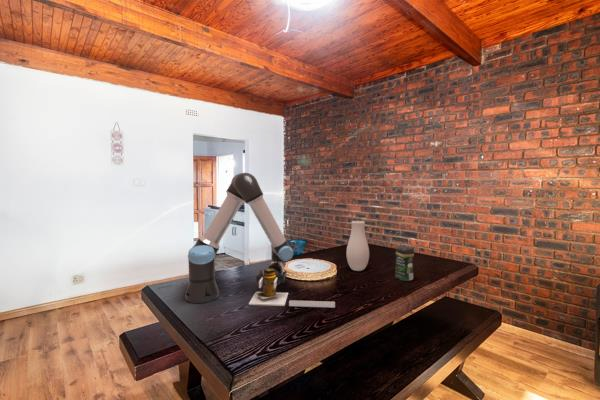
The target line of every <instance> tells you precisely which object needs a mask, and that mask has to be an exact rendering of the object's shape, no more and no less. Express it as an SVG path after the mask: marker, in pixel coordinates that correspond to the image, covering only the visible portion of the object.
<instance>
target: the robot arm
mask: <svg viewBox="0 0 600 400" xmlns="http://www.w3.org/2000/svg"><path fill="white" fill-rule="evenodd" d="M242 204H246V205H248V206H250V209H251V211H252V212H253V214H254V216H255V218H256V219H257V221H258V223H259V225H260V226H261V228H262V230H263V231H264V234H265V235H266V237H267V239H268V241H269V243H270V246H271V251H270V252H271V258H270V259H271V262H270V264H269V266H268V267H267V268H274V269H275V275H276V279H275V281H274V288H276V289H277V286H278V285H280V284H281V283H285V281H286V277H287V275H288V274H287V273H288V272H287V271H286V270H284V269H285V267H286V265H287V262H288V261H290V260H291V259H292V258H293V256H294V250H293V248H292V247H291V246H290V244H289V243H288V242H287V239H286V237H285V236H284V233H283V232H282V230H281V228H280V226H279V225H278V223H277V221H276V219H275V217H274V215H273V213H272V212H271V210H270V208H269V206H268V204H267V202H266V201H265V199H264V192H263V191H262V189H261V186H260V185H259V182H258V180H257V178H256V177H255V176H254V175H253V173H248V172H240V173H237V174H236V175H234V176H233V177H232V179H231V182H230V184H229V186H228V187H227V190H226V197H225V198H224V201H223V203H222V204H221V206H220V207H219V209H218V210H217V213H216V214H215V215H214V217H213V219H212V220H211V222H210V225H209V226H208V227H207V229H206V231H205V233H204V234H203V236H202V235H201V236H200V237H198V239H197V240H196V242H195V244H194V245H193V246H192V247H191V248H190V249H189V250H188V254H187V259H188V285H187V288H186V290H185V293H184V294H185V295H184V298H185V299H186V300H185V301H186V302H187V301H188V303H191V304H204V303H209V302H212V301H214V300H216V299H218V298H219V296H220V290H219V287H218V285H217V282H216V272H215V271H216V268H215V263H216V262H215V256H216V255H217V253H218V251H219V250H220V245H219V244H220V242H221V241H222V238H223V237H224V235H225V234H226V232H227V230H228V228H230V225H231V223H232V222H233V220H234V217H235V216H236V215H237V213H238V211H239V209H240V207H241V206H242ZM263 275H264V270H260V271H259V273H258V274H257V275H256V279H255V280H256V283H257V284H258V288H259V289H261V288H262V287H263Z"/></svg>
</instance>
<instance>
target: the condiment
mask: <svg viewBox="0 0 600 400" xmlns="http://www.w3.org/2000/svg"><path fill="white" fill-rule="evenodd" d="M263 271H264V275H263V285H262V291H261V292H262V293H256V294H257V295H258V296H259V297H261V298H262V299H266V298H270V297H275V296H279V295H278V294H277V293H276V292H277V287H276V288H274V281H275V279H276V275H275V269H274V268H268V267H267V268H264V269H263Z"/></svg>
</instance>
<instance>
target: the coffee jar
mask: <svg viewBox="0 0 600 400" xmlns="http://www.w3.org/2000/svg"><path fill="white" fill-rule="evenodd" d="M414 256H415V250H414V248H413V247H409V246H406V245H397V246H396V247H395V261H396V262H395V268H394V270H395V271H394V277H395V278H396V279H398V280H400V281H402V282H403V281H404V282H412V281H413V280H414V266H413V265H414Z"/></svg>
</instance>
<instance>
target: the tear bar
mask: <svg viewBox="0 0 600 400" xmlns="http://www.w3.org/2000/svg"><path fill="white" fill-rule="evenodd" d="M288 307H307V308H336V302H335V301H329V300H328V301H327V300H325V301H322V300H320V301H319V300H317V301H316V300H295V299H294V300H292V299H290V300H289V301H288Z"/></svg>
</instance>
